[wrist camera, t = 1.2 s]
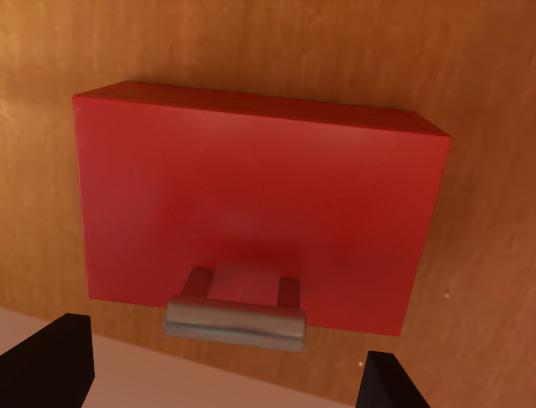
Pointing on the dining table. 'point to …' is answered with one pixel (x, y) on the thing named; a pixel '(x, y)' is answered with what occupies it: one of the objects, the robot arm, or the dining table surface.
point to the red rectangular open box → (267, 105)
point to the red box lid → (253, 218)
